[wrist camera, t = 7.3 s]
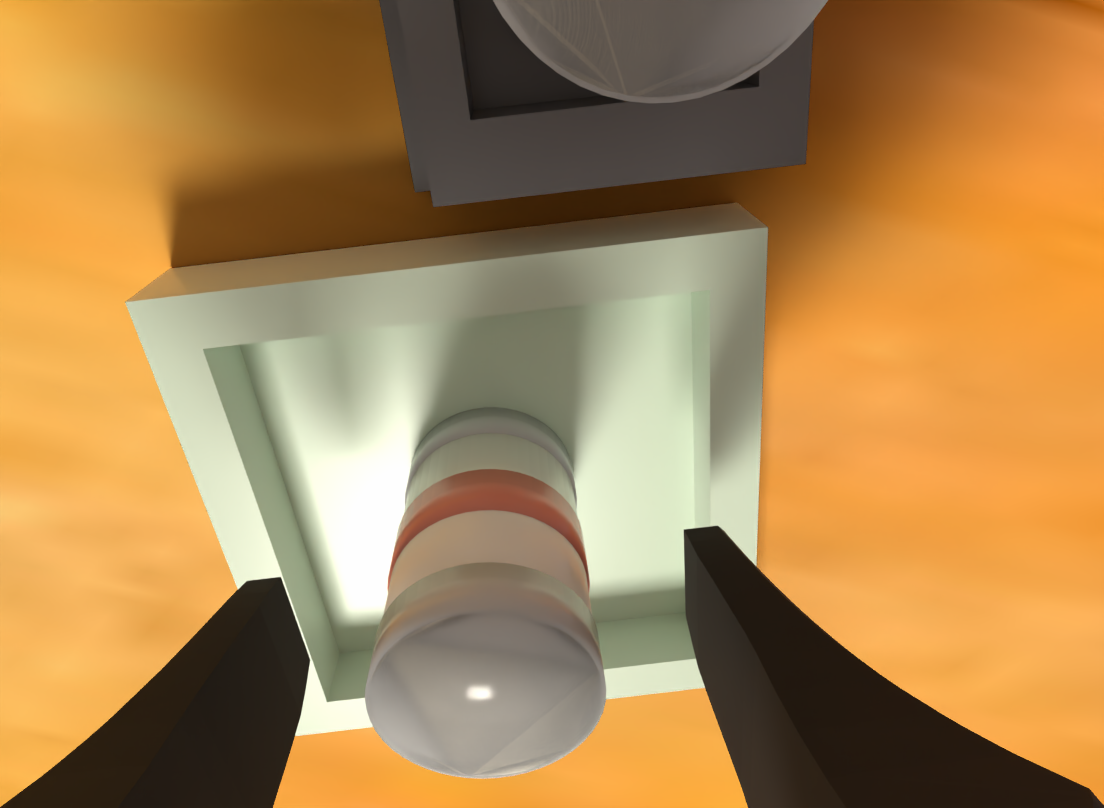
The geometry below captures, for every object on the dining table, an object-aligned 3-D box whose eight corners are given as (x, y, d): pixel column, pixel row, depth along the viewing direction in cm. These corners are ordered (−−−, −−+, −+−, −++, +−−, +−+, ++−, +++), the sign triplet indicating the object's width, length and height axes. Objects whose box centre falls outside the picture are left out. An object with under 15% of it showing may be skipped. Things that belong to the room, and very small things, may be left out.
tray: (737, 202, 14) (768, 227, 13) (730, 624, 19) (752, 681, 18) (170, 268, 14) (125, 302, 13) (313, 673, 19) (295, 736, 18)
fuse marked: (569, 400, 16) (603, 598, 10) (576, 537, 17) (608, 768, 12) (398, 414, 16) (343, 621, 10) (422, 550, 17) (386, 788, 12)
